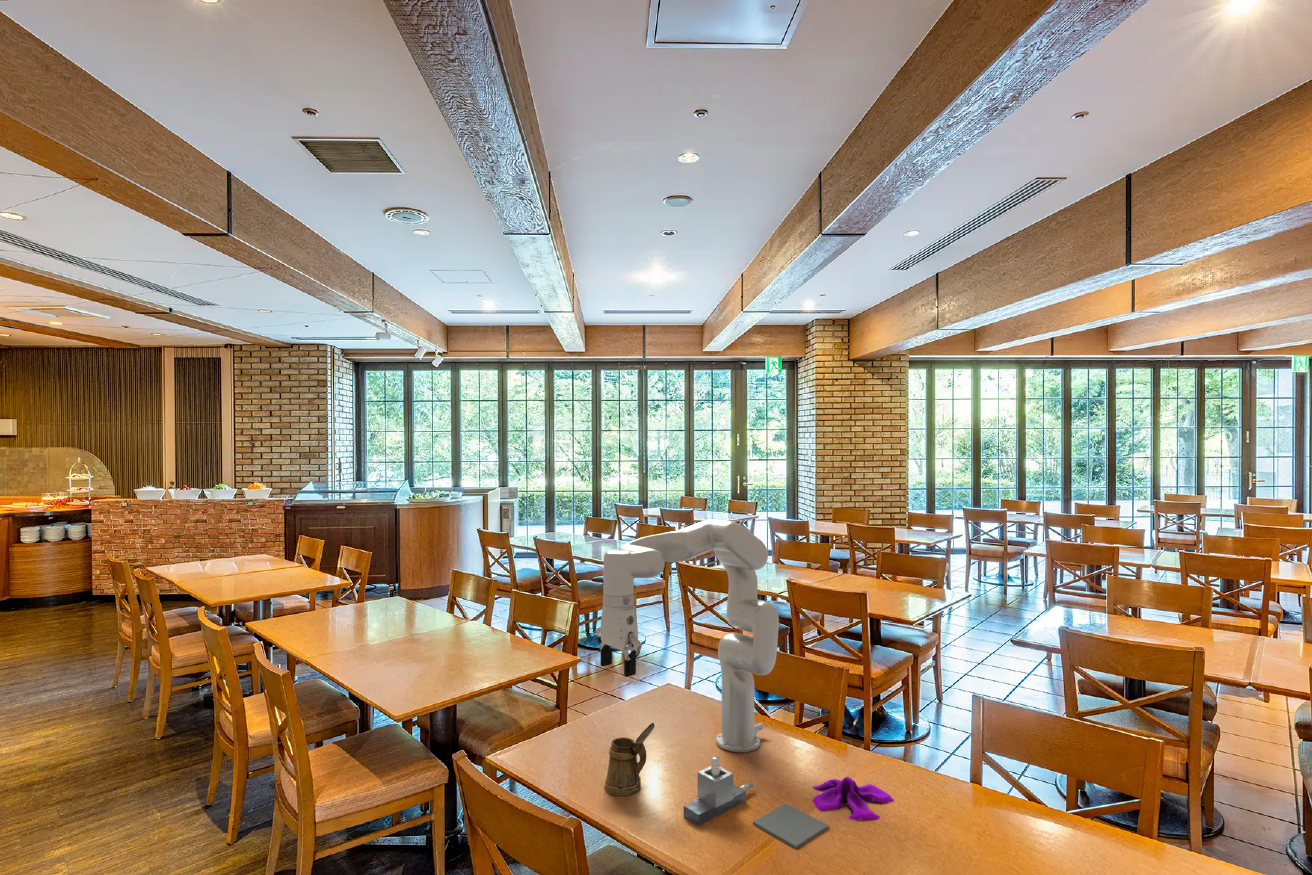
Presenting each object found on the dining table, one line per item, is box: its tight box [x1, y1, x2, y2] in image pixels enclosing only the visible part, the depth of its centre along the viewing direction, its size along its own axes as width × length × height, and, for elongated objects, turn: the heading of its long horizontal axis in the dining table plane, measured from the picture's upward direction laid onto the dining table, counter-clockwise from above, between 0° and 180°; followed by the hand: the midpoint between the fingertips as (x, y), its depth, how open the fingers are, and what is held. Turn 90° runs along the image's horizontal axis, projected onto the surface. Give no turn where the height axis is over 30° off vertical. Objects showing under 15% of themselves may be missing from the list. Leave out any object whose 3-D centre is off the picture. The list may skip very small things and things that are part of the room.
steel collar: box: [697, 765, 734, 808], centre depth 154 cm, size 6×6×6 cm
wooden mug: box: [604, 722, 656, 797], centre depth 163 cm, size 9×14×18 cm, turn 59°
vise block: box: [683, 755, 754, 827], centre depth 156 cm, size 21×5×12 cm, turn 131°
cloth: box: [812, 776, 895, 821], centre depth 159 cm, size 22×19×6 cm
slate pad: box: [752, 803, 830, 850], centre depth 147 cm, size 12×12×1 cm
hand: (617, 670), depth 160 cm, fingers open, 9 cm apart
